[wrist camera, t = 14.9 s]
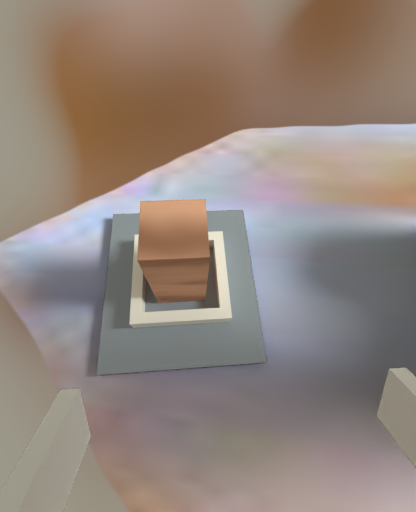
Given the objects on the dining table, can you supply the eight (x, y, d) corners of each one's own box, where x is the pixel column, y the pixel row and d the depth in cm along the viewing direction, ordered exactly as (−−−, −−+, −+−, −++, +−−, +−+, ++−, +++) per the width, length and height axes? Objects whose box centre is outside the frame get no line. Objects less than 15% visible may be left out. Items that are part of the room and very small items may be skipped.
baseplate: (115, 219, 36) (108, 205, 33) (241, 214, 38) (245, 201, 35) (100, 375, 28) (89, 374, 25) (264, 362, 29) (271, 360, 26)
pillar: (158, 260, 33) (140, 201, 22) (202, 258, 33) (205, 199, 22) (158, 303, 30) (137, 260, 19) (205, 300, 31) (210, 257, 20)
